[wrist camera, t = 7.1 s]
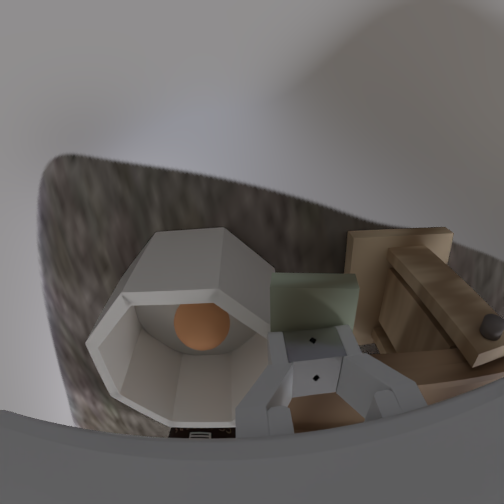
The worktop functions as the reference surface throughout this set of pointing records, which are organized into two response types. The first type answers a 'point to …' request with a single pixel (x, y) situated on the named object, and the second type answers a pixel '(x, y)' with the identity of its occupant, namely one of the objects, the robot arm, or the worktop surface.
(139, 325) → the cup
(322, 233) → the worktop surface
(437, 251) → the frame
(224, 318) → the ball
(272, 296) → the lever
